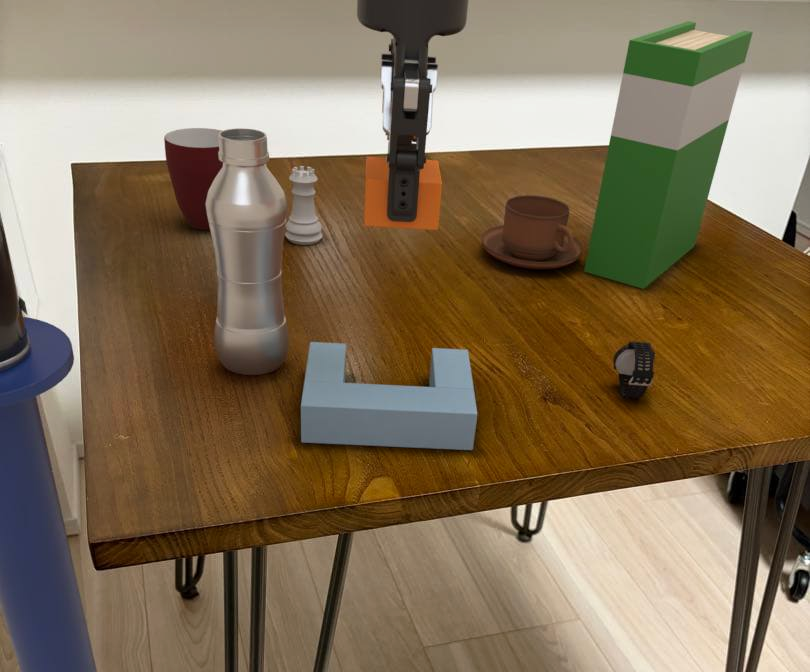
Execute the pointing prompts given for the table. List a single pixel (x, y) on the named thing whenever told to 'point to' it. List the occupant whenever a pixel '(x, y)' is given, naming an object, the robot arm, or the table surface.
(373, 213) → the orange block
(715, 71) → the hardback book
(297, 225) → the rook chess piece
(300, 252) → the table surface
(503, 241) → the cup and saucer
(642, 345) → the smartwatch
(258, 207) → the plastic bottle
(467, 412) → the light blue u-shaped block
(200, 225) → the mug
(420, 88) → the robot arm
